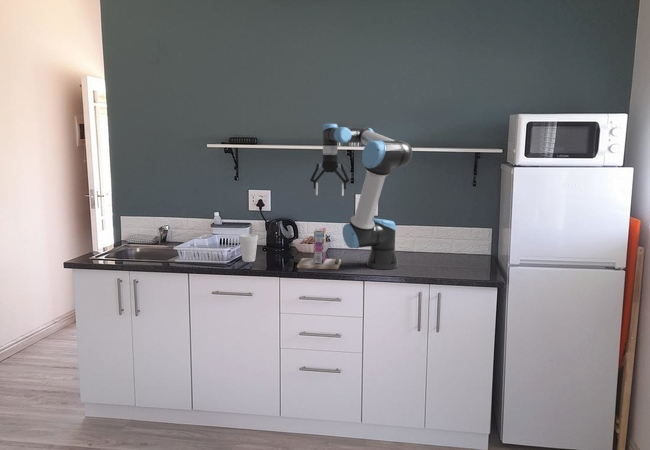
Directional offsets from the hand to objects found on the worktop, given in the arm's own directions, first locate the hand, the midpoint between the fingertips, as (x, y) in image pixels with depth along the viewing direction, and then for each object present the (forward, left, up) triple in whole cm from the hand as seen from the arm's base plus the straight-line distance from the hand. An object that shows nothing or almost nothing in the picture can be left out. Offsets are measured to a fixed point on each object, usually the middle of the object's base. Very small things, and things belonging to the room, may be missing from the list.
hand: (329, 195), depth 283 cm
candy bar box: (+3, +19, -31) cm, 37 cm away
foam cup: (+40, +14, -33) cm, 54 cm away
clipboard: (+3, +19, -33) cm, 38 cm away
